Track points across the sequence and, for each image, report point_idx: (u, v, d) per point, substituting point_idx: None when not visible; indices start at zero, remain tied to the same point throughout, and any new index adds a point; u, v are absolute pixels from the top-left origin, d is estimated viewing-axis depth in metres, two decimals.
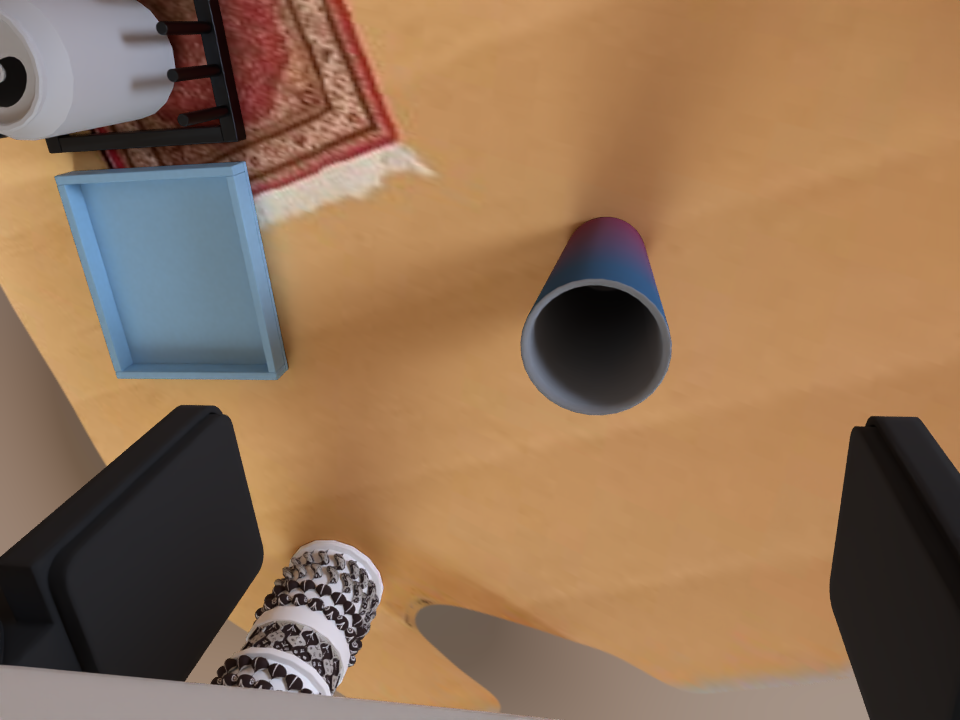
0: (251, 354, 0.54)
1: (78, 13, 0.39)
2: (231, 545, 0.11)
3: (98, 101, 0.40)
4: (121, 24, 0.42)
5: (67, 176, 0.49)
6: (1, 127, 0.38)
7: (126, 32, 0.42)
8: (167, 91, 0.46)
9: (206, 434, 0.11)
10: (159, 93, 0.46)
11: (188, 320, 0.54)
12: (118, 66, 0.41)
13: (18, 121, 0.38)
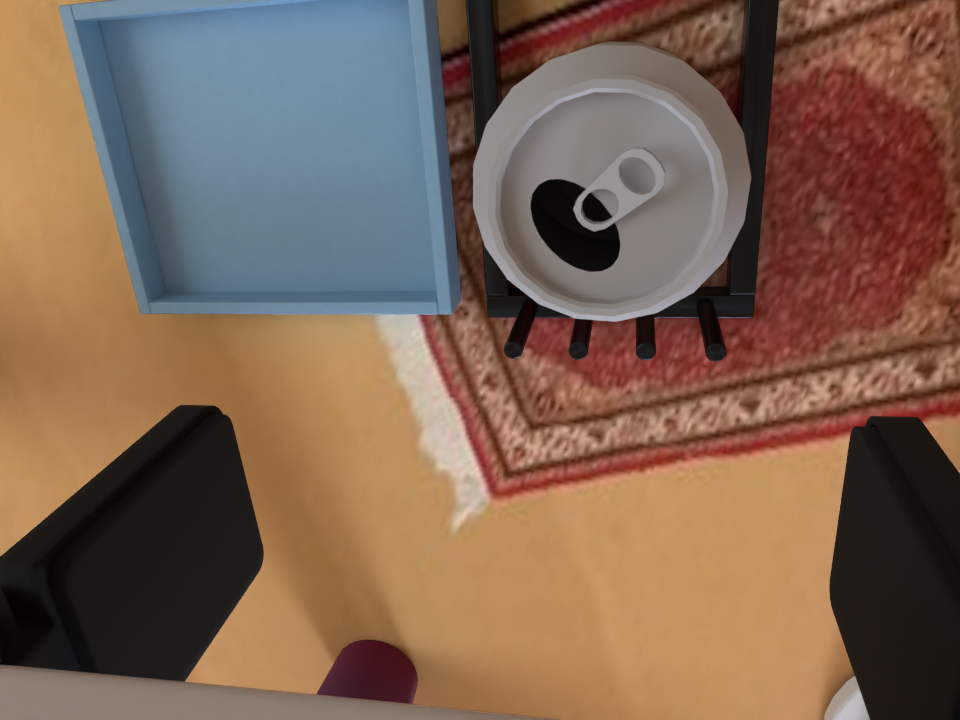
0: (172, 254, 0.35)
1: None
2: (231, 545, 0.11)
3: None
4: None
5: (421, 1, 0.27)
6: (492, 202, 0.19)
7: None
8: (560, 227, 0.30)
9: (206, 434, 0.11)
10: None
11: (203, 154, 0.32)
12: None
13: (504, 242, 0.20)
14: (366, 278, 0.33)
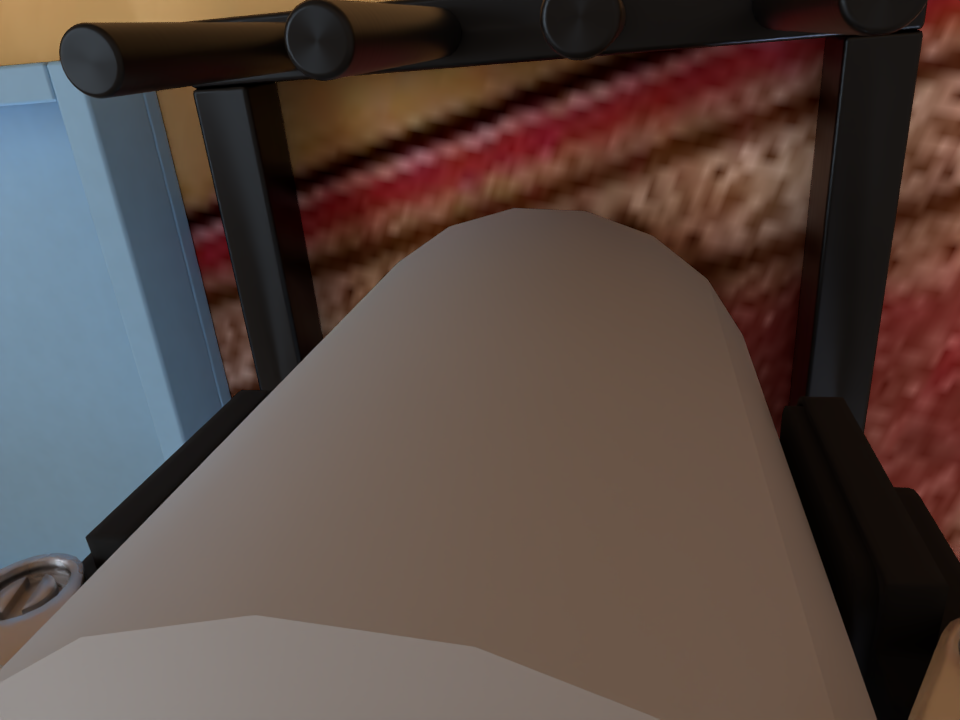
0: None
1: None
2: None
3: None
4: None
5: (92, 128, 0.12)
6: None
7: None
8: None
9: None
10: None
11: None
12: None
13: None
14: None
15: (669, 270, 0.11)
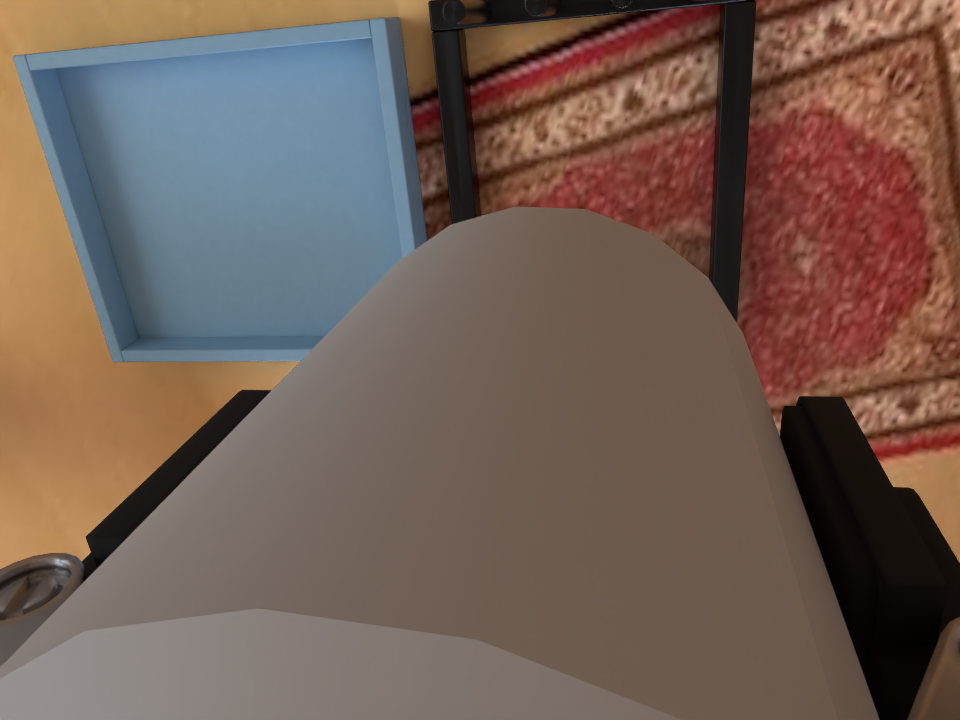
0: (143, 300, 0.34)
1: None
2: None
3: None
4: None
5: (387, 50, 0.26)
6: None
7: None
8: None
9: None
10: None
11: (170, 201, 0.32)
12: None
13: None
14: None
15: (669, 268, 0.11)
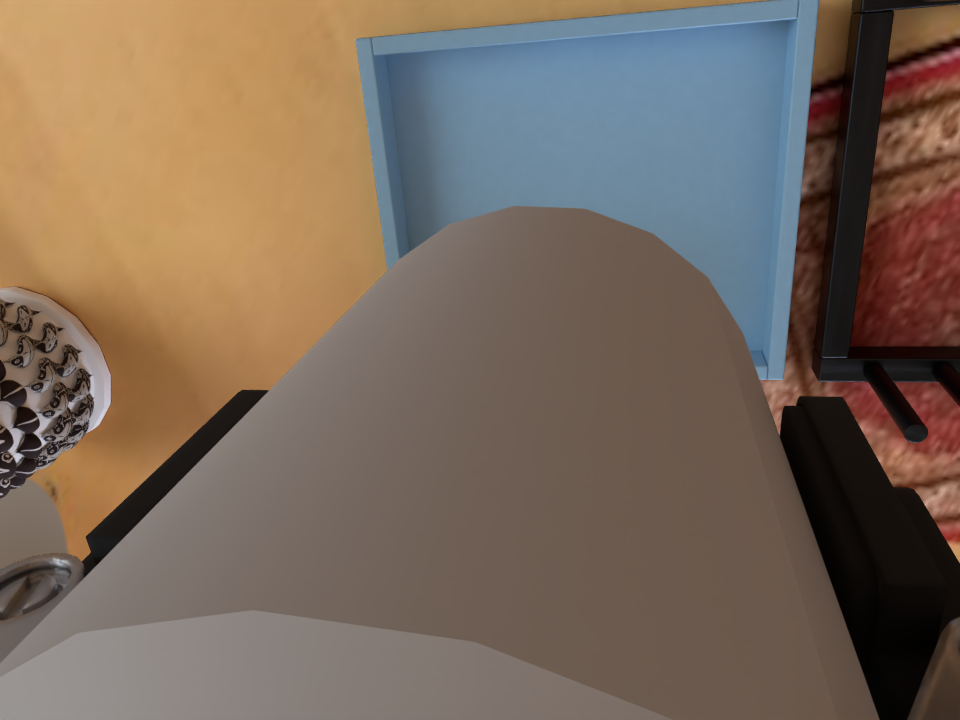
0: None
1: None
2: None
3: None
4: None
5: (814, 32, 0.23)
6: None
7: None
8: None
9: None
10: None
11: (490, 202, 0.29)
12: None
13: None
14: None
15: (669, 267, 0.11)
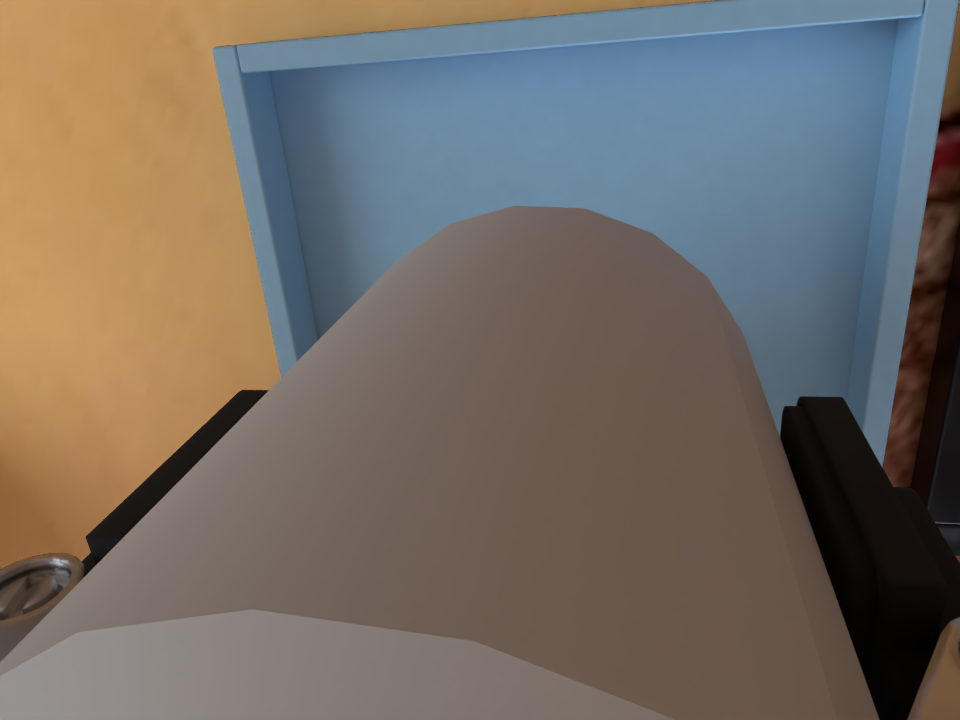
0: None
1: None
2: None
3: None
4: None
5: (950, 39, 0.14)
6: None
7: None
8: None
9: None
10: None
11: None
12: None
13: None
14: None
15: (669, 267, 0.11)
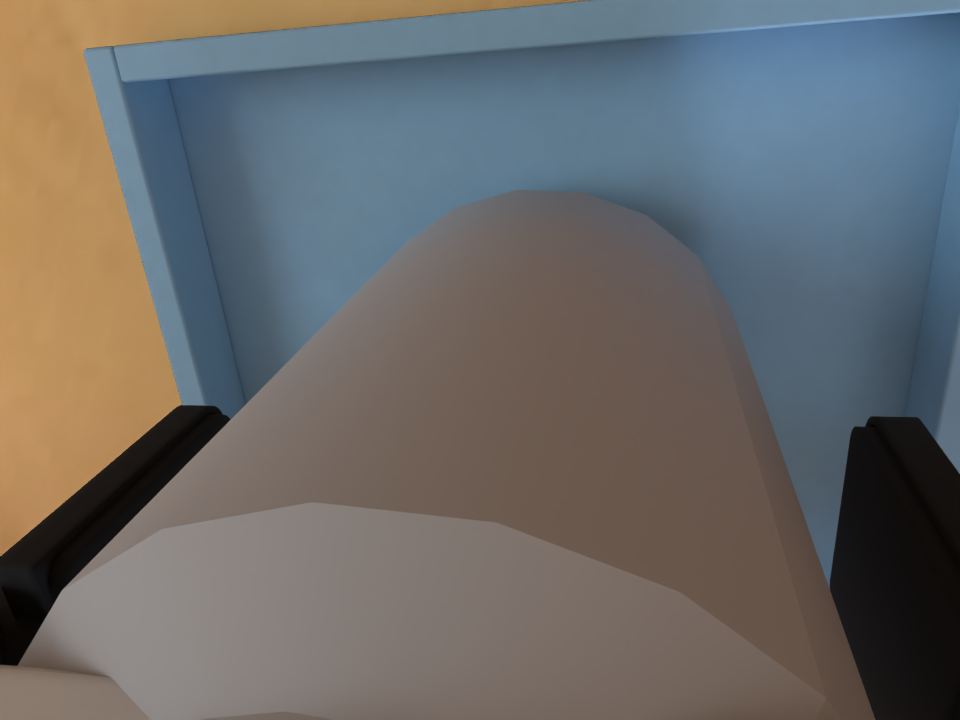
0: None
1: None
2: None
3: None
4: None
5: None
6: None
7: None
8: None
9: (206, 434, 0.11)
10: None
11: None
12: None
13: None
14: None
15: (661, 245, 0.12)
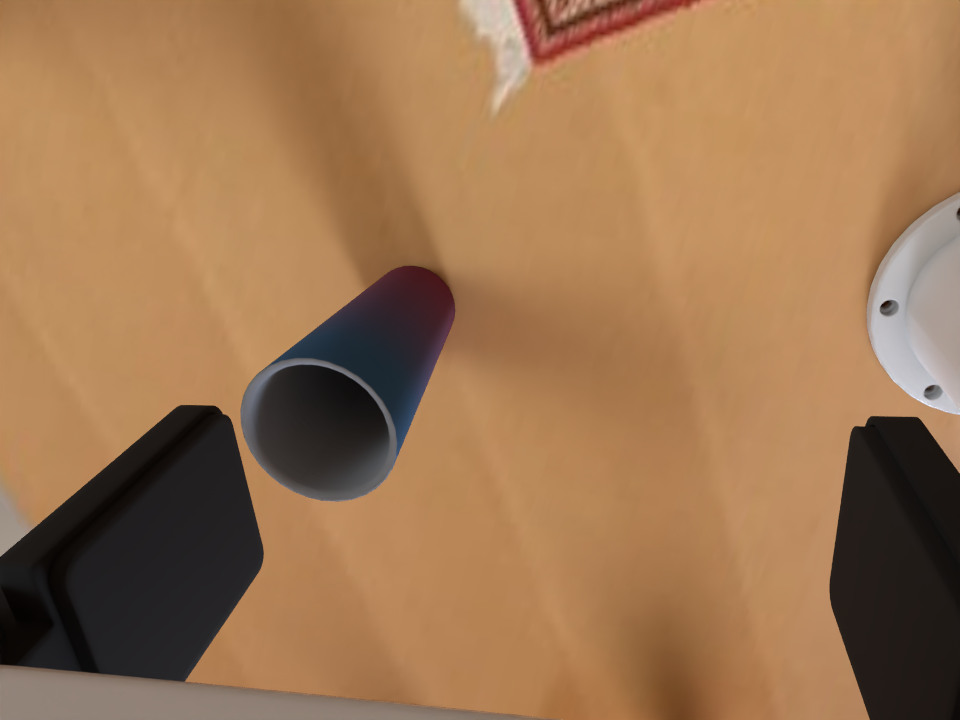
0: None
1: None
2: (231, 545, 0.11)
3: None
4: None
5: None
6: None
7: None
8: None
9: (206, 434, 0.11)
10: None
11: None
12: None
13: None
14: None
15: None
